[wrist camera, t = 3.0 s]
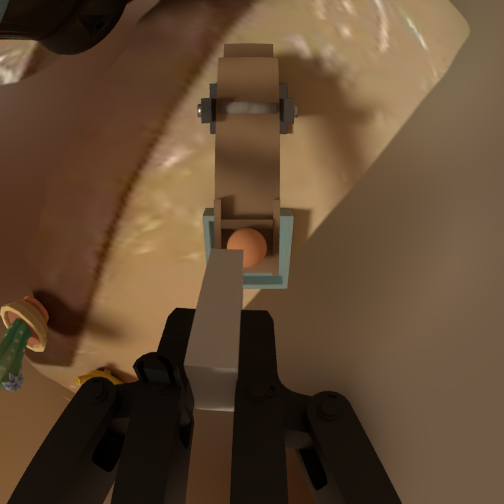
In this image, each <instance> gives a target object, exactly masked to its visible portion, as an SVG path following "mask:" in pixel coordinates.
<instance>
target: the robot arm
mask: <svg viewBox="0 0 504 504" xmlns="http://www.w3.org/2000/svg"><path fill="white" fill-rule="evenodd" d="M126 2H127V0H0V39H15V40H36V41H38V42H39V43H41V44H42V45H44V46H45V47H46V48H47V49H48V50H49V51H51V52H53V53H56V54H62V55H75V54H79V53H81V52H84V51H86V50H88V49H90V48H92V47H93V46H95V45H96V44H97V43H99V42H100V41H101V40H103V39H104V38H105V37H106V36H107V35H108V34H109V33H110V31H111V30H112V29H113V28H114V27H115V25H116V24H117V22H118V21H119V19H120V17H121V15H122V13H123V11H124V8H125V6H126ZM243 254H244V250H240V249H211V251H210V255H209V259H208V263H207V267H206V271H205V275H204V279H203V283H202V287H201V291H200V295H199V299H198V303H197V307H196V309H188V308H176V309H175V310H174V311H173V312H172V313H171V314H170V315H169V316H168V318H167V321H166V324H165V329H164V331H163V334H162V337H161V340H160V343H159V346H158V350H157V352H150V353H147V354H145V355H142V356H141V357H140V358H139V359H137V360H136V362H135V363H134V365H133V368H134V370H135V373H136V375H137V377H138V379H139V381H136V382H132V383H125V384H116V385H114V384H113V382H112V381H110V380H109V379H108V378H105V377H101V376H100V377H93V378H91V379H88V380H87V381H86V382H85V383H84V384H83V385H82V386H81V387H80V389H79V390H78V391H77V393H76V394H75V396H74V397H73V398H72V400H71V401H70V403H69V404H68V406H67V407H66V409H65V410H64V412H63V413H62V414H61V416H60V417H59V419H58V420H57V422H56V423H55V425H54V426H53V428H52V429H51V431H50V432H49V434H48V435H47V437H46V439H45V440H44V442H43V443H42V445H41V447H40V448H39V449H38V451H37V453H36V454H35V456H34V457H33V459H32V461H31V462H30V464H29V466H28V467H27V469H26V471H25V473H24V474H23V476H22V478H21V479H20V481H19V483H18V485H17V486H16V488H15V490H14V492H13V493H12V495H11V497H10V499H9V501H8V503H7V504H103V502H104V500H105V499H106V496H107V495H108V493H109V491H110V489H111V487H112V485H113V483H114V481H115V484H114V489H113V494H112V499H111V504H185V500H186V491H187V481H188V470H189V463H190V454H191V445H192V437H193V429H194V417H193V408H194V404H195V407H196V409H206V410H219V411H234V422H233V423H234V424H233V443H232V466H231V490H230V504H288V488H287V471H286V454H285V446H286V447H291V448H294V449H295V452H296V454H297V457H298V459H299V462H300V465H301V467H302V470H303V473H304V475H305V478H306V480H307V483H308V485H309V488H310V491H311V493H312V496H313V498H314V501H315V503H316V504H402V503H401V501H400V499H399V497H398V495H397V493H396V491H395V489H394V487H393V485H392V483H391V481H390V479H389V477H388V475H387V473H386V471H385V469H384V467H383V465H382V463H381V461H380V460H379V458H378V456H377V454H376V452H375V450H374V448H373V446H372V444H371V442H370V440H369V439H368V437H367V435H366V433H365V431H364V430H363V427H362V425H361V423H360V421H359V420H358V418H357V416H356V414H355V412H354V411H353V408H352V407H351V404H350V403H349V401H348V400H347V399H346V398H345V397H344V396H342V395H341V394H339V393H338V392H332V391H323V392H320V393H317V394H316V395H313V397H312V396H308V395H303V394H299V393H296V392H293V391H291V390H289V389H287V388H286V387H285V386H284V385H283V384H282V383H281V381H280V380H279V378H278V373H277V361H276V349H275V335H274V323H273V319H272V317H271V316H270V314H269V313H268V311H265V310H263V311H262V310H259V311H258V310H242V306H243Z"/></svg>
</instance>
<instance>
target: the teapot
mask: <svg viewBox="0 0 504 504" xmlns="http://www.w3.org/2000/svg"><path fill="white" fill-rule="evenodd" d="M100 376H101V377H105V378H108V379H109V380H110V381H112V382H113V384H114V385H116V384H123V382H122V381H121V380H118V379H117V378H115V377H114V376H112V375H111V371H110V370H109V369H104V372H103V371H99V370H93V371H91V372H88V373H87V374H86V375H83V376H80V377H76V378H75V381H76V383H77V384H78V385H80V384H82V383H85V382H86V381H87V380H88V379H91V378H93V377H100Z"/></svg>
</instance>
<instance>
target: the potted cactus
mask: <svg viewBox="0 0 504 504" xmlns="http://www.w3.org/2000/svg"><path fill="white" fill-rule="evenodd" d="M1 316H2V319H3V322H4V324H5V326H6V327H7V328H8V330H7V332H6V333H5V335H4V337H3V339H2V341H1V342H0V390H1V389H3V388H5V387H7V388H6V389H7V390H9V391H16V390H18V389H20V388H21V386H22V384H23V380H24V377H23V378H22V371H21V369H22V359H23V355H24V352H25V349H26V347H28V348H30V349H31V350H33V351H37V352H43V351H44V349H45V346H46V343H47V340H46V334H47V321H48V319H49V316H48V313H47V311H46V309H45V308H44V306H43V305H42V304H41V303H40V302H39V301H38V300H36V299H35V298H33V297H30V296H26V297H25V298H24V300H19V301H15V302H13V303H10V304H5V305H4V306H2V307H1Z"/></svg>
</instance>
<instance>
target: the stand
mask: <svg viewBox="0 0 504 504" xmlns="http://www.w3.org/2000/svg"><path fill="white" fill-rule="evenodd" d="M287 97H288V84H279V121H280V134H286V132H287V123H294V117H298V104H294V99H292V98H287ZM216 105H217V83H216V84H210V98H203V99H201V104H198V117H202V123H210V134H216Z"/></svg>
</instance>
